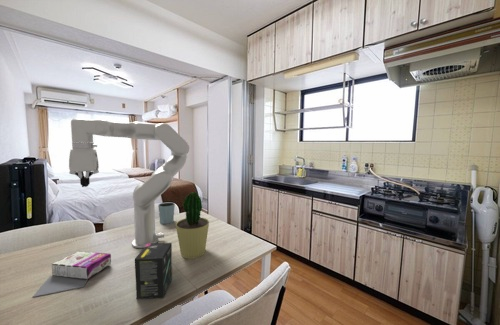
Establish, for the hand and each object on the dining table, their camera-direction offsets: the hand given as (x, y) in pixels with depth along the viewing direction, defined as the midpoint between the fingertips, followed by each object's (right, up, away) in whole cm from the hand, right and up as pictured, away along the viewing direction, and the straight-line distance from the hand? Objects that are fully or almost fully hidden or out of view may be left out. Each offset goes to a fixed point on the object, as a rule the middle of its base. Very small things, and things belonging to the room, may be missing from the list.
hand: (85, 186), depth 96 cm
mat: (+7, -34, -18) cm, 39 cm away
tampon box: (+42, -35, -21) cm, 58 cm away
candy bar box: (+16, -31, -13) cm, 37 cm away
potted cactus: (+49, -33, +5) cm, 59 cm away
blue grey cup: (+20, -29, +44) cm, 56 cm away
